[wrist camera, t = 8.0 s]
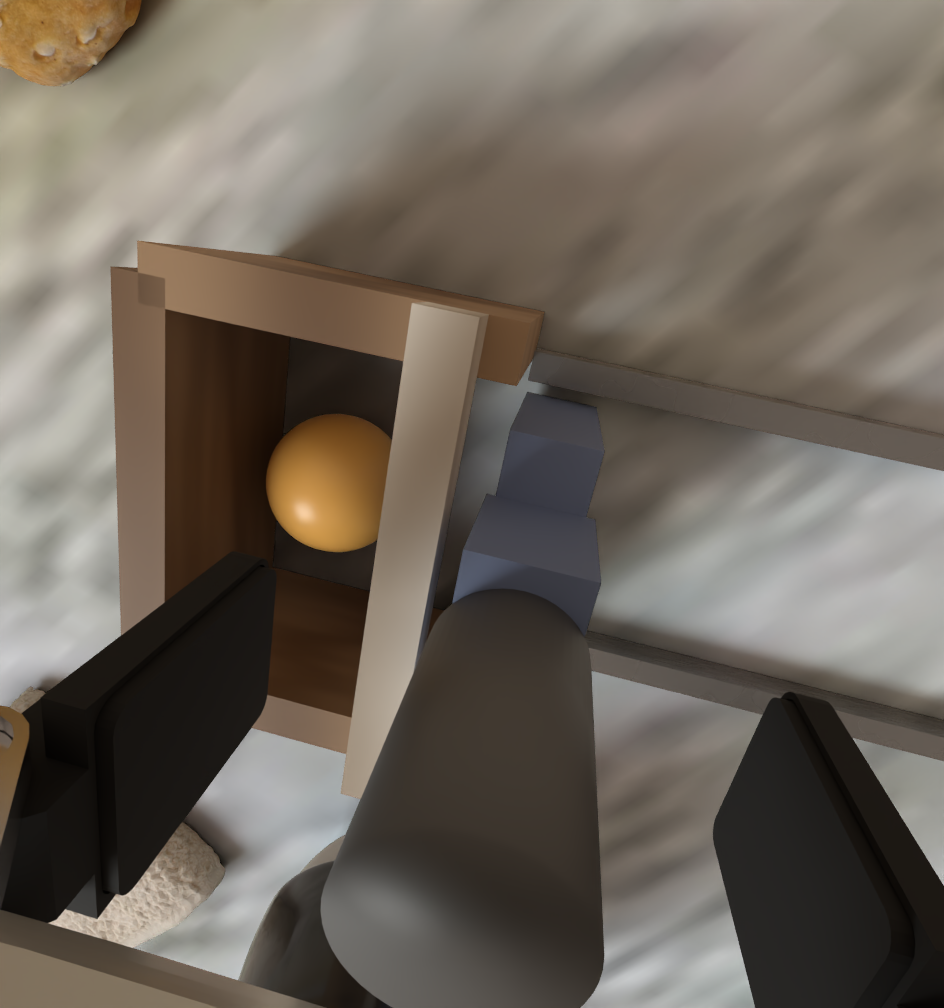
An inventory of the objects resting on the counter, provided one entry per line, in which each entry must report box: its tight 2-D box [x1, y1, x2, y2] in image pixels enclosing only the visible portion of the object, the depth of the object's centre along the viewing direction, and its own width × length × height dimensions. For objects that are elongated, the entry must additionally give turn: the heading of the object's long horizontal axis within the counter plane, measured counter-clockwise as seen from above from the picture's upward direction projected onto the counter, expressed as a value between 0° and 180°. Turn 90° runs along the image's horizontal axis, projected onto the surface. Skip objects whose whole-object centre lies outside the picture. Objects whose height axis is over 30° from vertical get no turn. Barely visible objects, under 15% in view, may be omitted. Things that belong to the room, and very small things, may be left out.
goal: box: [111, 241, 545, 799], centre depth 16 cm, size 9×11×7 cm
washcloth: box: [10, 687, 225, 948], centre depth 28 cm, size 12×18×3 cm, turn 130°
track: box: [528, 348, 944, 761], centre depth 17 cm, size 22×9×2 cm, turn 80°
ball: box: [266, 414, 392, 552], centre depth 17 cm, size 4×4×4 cm
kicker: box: [321, 392, 605, 1008], centre depth 12 cm, size 3×7×13 cm, turn 169°
